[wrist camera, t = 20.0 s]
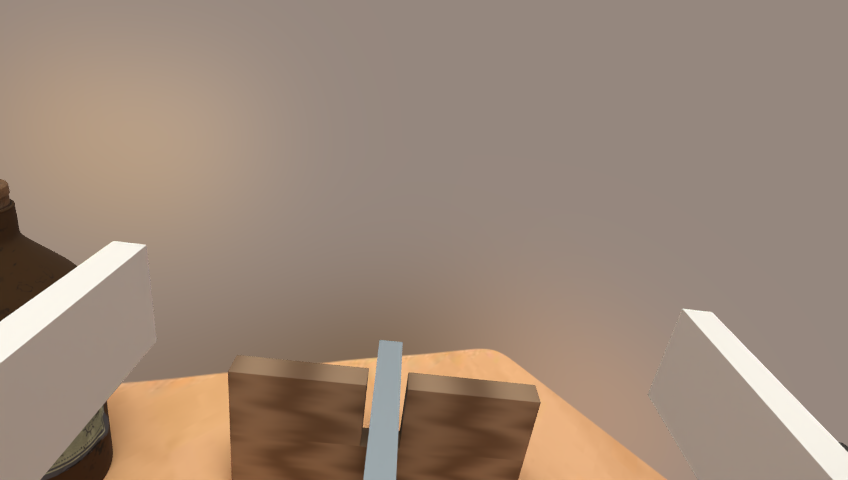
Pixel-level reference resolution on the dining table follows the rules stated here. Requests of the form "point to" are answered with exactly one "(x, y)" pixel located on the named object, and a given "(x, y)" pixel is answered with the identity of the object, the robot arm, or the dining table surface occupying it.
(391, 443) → the slate slotted plate
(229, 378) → the walnut slotted board
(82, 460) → the dark brown bottle
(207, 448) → the dining table surface
